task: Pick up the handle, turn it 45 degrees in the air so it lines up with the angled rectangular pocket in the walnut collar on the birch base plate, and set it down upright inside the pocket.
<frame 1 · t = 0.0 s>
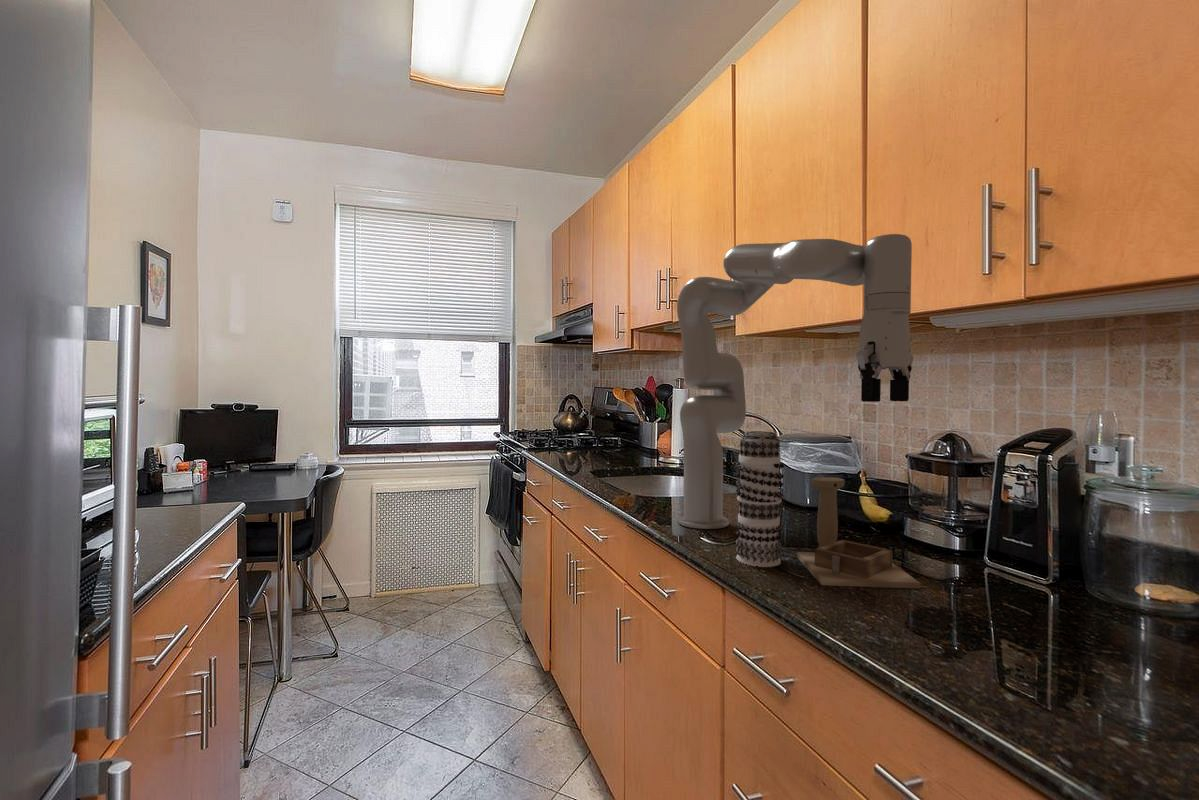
hand: (885, 401, 101), 31 cm above the worktop, tool pointing down, fingers open, 9 cm apart
handle: (826, 553, 115), on the worktop
decorative candle: (758, 561, 109), on the worktop
socket plate: (853, 571, 103), on the worktop
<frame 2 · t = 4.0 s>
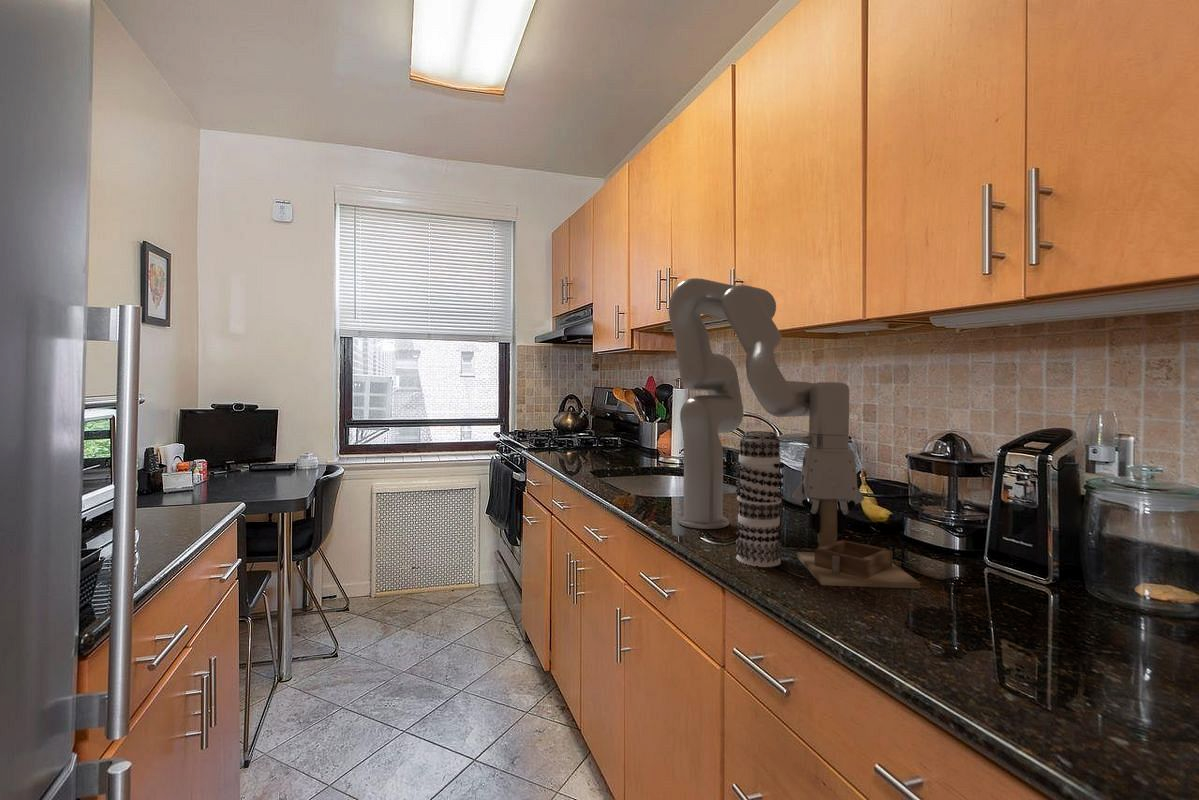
hand: (827, 531, 115), 4 cm above the worktop, tool pointing down, fingers closed on handle, 4 cm apart
handle: (826, 553, 115), on the worktop, touching gripper
everything else where it was.
when the fingers open (7 cm above the worktop, at t = 10.8 s): handle drops 1 cm, resting on socket plate.
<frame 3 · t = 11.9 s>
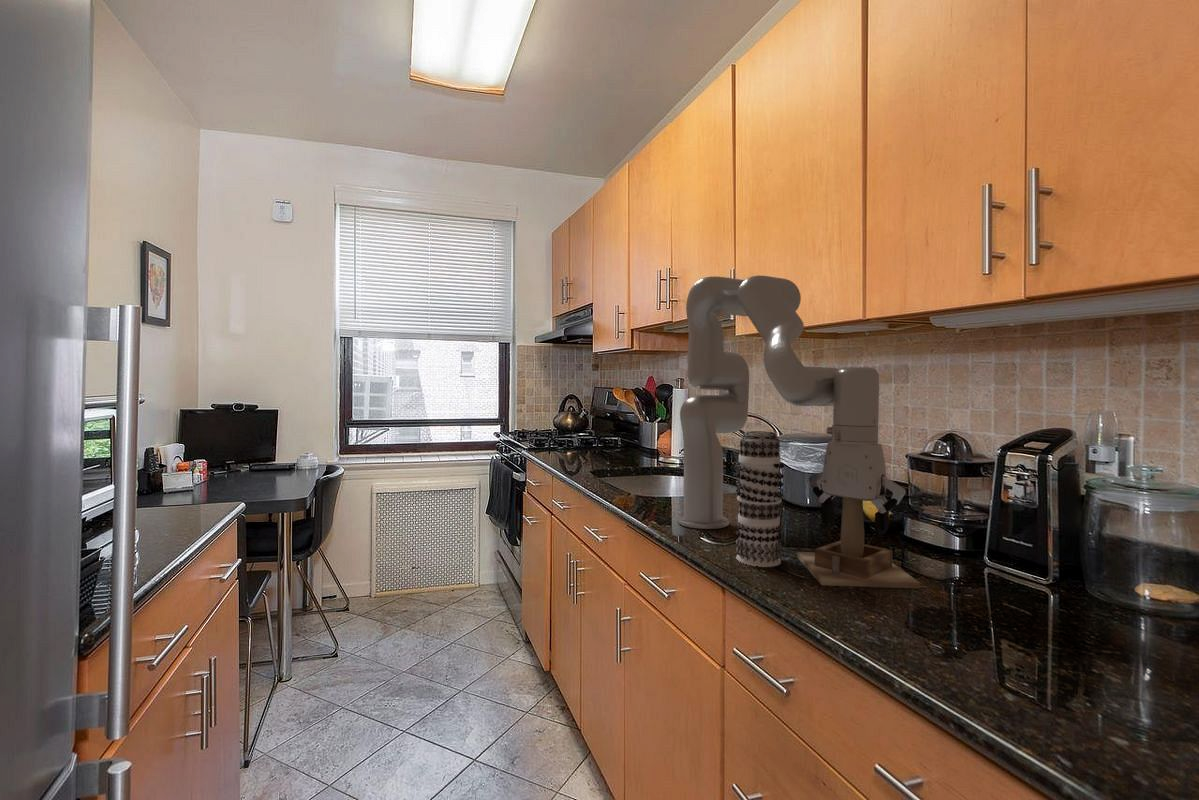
hand: (853, 528, 103), 8 cm above the worktop, tool pointing down, fingers open, 9 cm apart
handle: (852, 566, 103), point 1 cm above the worktop, touching socket plate
everything else where it was.
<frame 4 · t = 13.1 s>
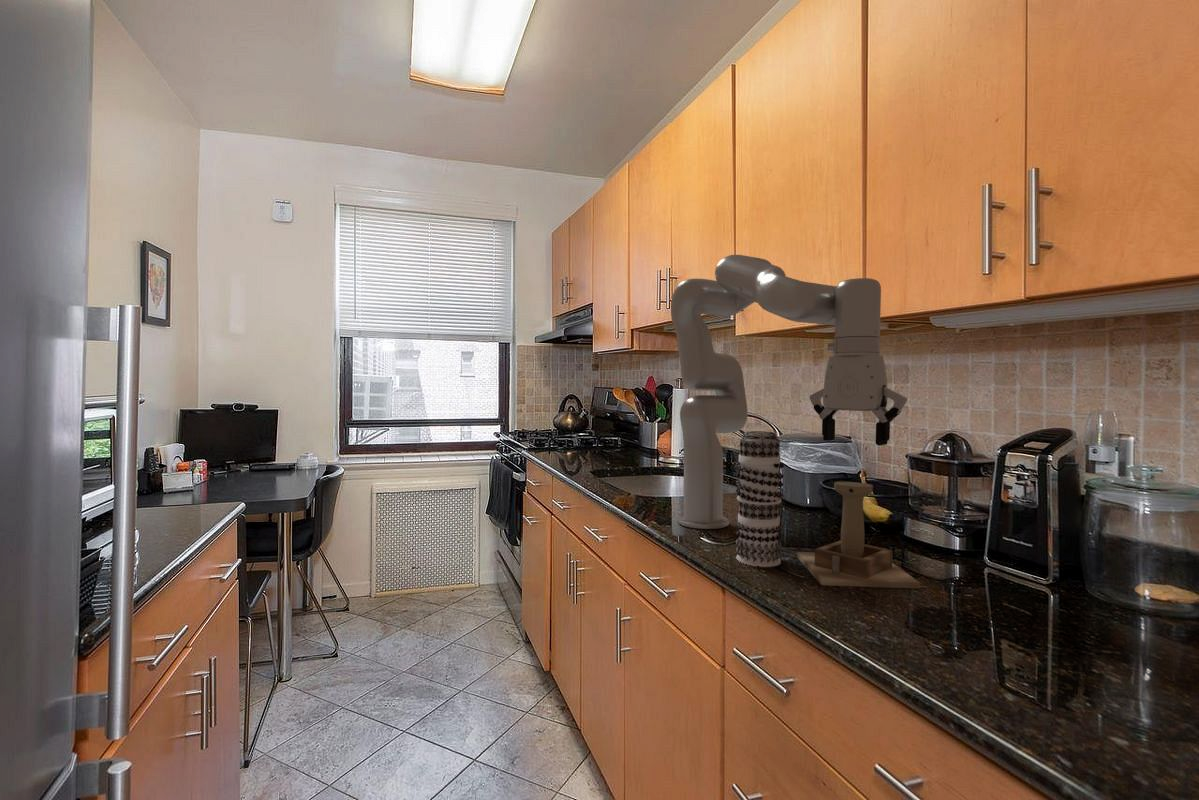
hand: (854, 442, 103), 24 cm above the worktop, tool pointing down, fingers open, 9 cm apart
nothing on the worktop moved.
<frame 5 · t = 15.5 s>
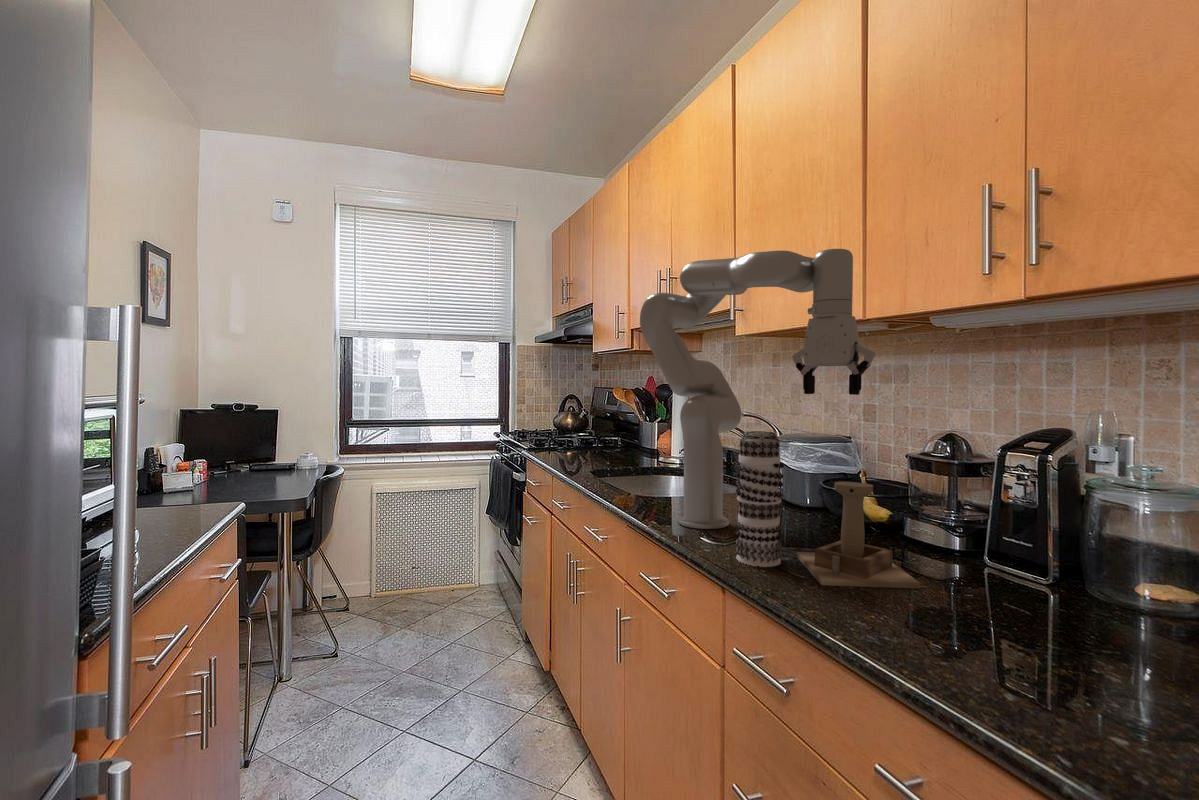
hand: (831, 394, 116), 32 cm above the worktop, tool pointing down, fingers open, 9 cm apart
nothing on the worktop moved.
at the end: handle 0.2 cm off-centre on the socket plate, point 0.8 cm above the socket plate's base; handle tilted 0°; the gripper is holding nothing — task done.
